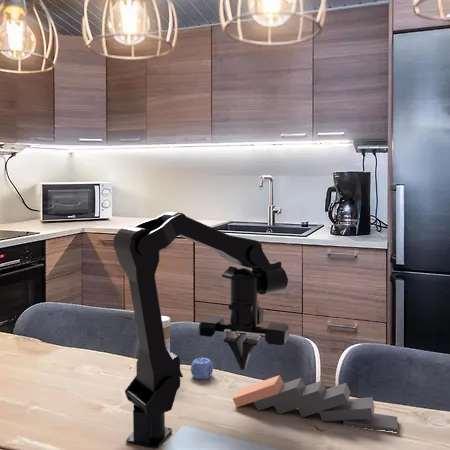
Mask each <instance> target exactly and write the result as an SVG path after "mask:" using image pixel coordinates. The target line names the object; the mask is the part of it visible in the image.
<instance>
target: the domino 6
mask: <svg viewBox="0 0 450 450" xmlns="http://www.w3.org/2000/svg"><path fill="white" fill-rule="evenodd" d="M342 421H343V423H342V424H343V426H344V425H346V426H345V427H350V426H354V427H353V428H356V427H359V428H358V429H362V428H367V429H366V430H368V429H373V430H372V431H374V430H385V431H393V432H398V430H399V427H398V426H399V425H398V416H395V415H394V416H393V415H388V414H382V413H375V412H374V416H373V418H371V419H354V420H342Z"/></svg>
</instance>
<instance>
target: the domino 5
mask: <svg viewBox="0 0 450 450" xmlns="http://www.w3.org/2000/svg"><path fill="white" fill-rule="evenodd" d="M374 403H375V402H374V399H373V397H372V396H371V397H370V396H368V397H360V398H359V397H357V398H349V400H348V403H345V404H342V405H339V406H336V407H333V408H330V409H326V410H323V411H320V412H319V415H320V418H321V419H320V420H321V422H336V421H343V420H354V419H371V418H373V416H374V413H375V404H374Z"/></svg>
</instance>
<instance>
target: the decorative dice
mask: <svg viewBox="0 0 450 450" xmlns="http://www.w3.org/2000/svg"><path fill="white" fill-rule="evenodd" d="M213 371H214V364H213V362H212V361H211V360H210V359H209V358H207V357H198V358H195V359H194V360H193V361H192V362H191V366H190V373H191V375H192V376H193V378H195V379H196V380H202V381H203V380H208V379H209V378H211V376H212V374H213Z"/></svg>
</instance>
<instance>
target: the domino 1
mask: <svg viewBox="0 0 450 450" xmlns="http://www.w3.org/2000/svg"><path fill="white" fill-rule="evenodd" d="M284 383H285V382H284V381H283V379H282V377H281V375H276V376H273V377H270V378H267V379H264V380H262V381H258V382H256V383H253V384H250V385H247V386H245V387H242V388H239V389H238V390H237V392H236V394H235V395H234V396H233V397H232V401H233V403H234V405H235V407H236V408H240V407H242V406H245V405H247V404H251V403H254V401H257V400H261V399H264V398H267V397H270V396H273V395H276V394H278V393H279V392H280V390H281V388H282V386H283V384H284Z"/></svg>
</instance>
